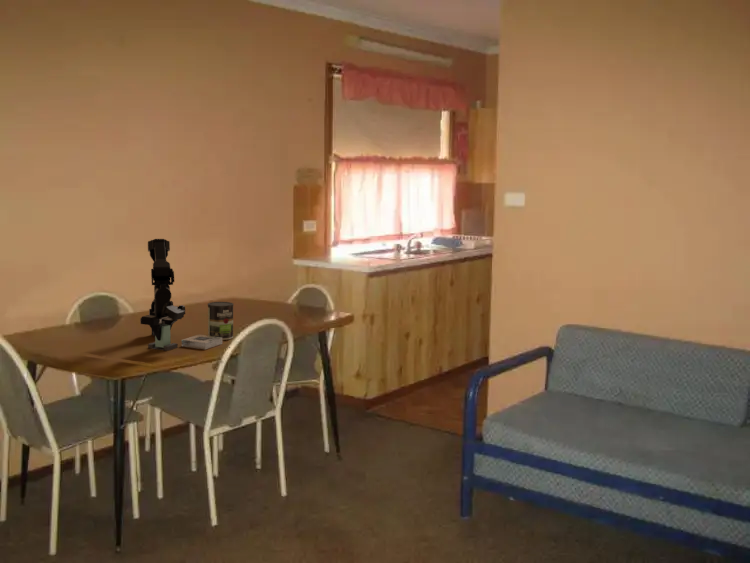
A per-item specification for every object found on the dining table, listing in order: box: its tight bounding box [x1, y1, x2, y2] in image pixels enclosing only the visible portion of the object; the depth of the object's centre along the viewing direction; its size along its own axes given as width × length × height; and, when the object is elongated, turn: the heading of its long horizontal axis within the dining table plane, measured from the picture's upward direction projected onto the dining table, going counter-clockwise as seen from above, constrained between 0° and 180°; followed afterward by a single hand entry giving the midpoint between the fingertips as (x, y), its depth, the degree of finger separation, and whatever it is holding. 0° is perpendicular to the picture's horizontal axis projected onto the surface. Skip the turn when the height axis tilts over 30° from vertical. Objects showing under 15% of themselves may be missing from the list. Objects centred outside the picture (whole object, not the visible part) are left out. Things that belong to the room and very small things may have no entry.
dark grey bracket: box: [147, 341, 179, 352], centre depth 309 cm, size 9×6×2 cm, turn 66°
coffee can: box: [207, 301, 234, 341], centre depth 332 cm, size 10×10×14 cm
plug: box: [154, 321, 172, 348], centre depth 308 cm, size 4×4×10 cm
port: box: [181, 334, 223, 350], centre depth 315 cm, size 11×11×4 cm
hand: (162, 339), depth 308 cm, fingers closed on plug, 4 cm apart
